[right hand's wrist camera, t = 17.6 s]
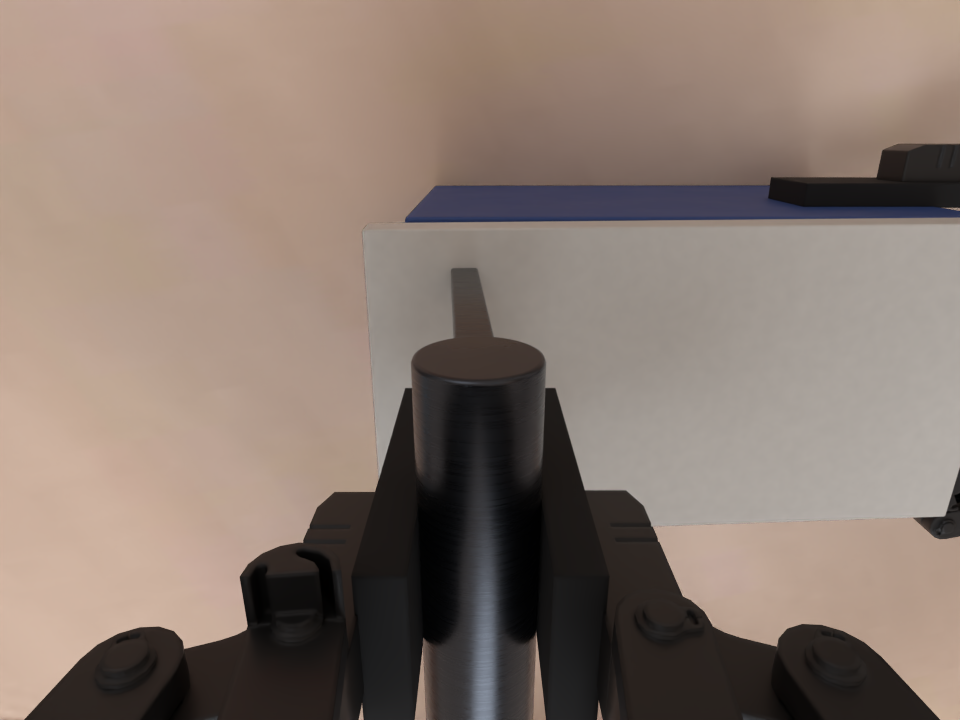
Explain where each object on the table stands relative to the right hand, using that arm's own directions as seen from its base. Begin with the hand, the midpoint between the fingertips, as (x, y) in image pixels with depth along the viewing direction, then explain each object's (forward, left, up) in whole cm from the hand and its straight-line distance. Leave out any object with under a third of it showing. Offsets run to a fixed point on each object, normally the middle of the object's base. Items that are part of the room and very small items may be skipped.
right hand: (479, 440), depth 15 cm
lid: (0, +6, -4) cm, 7 cm away
